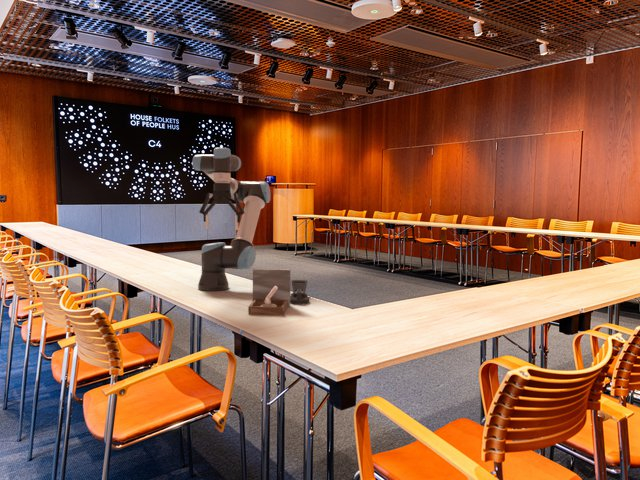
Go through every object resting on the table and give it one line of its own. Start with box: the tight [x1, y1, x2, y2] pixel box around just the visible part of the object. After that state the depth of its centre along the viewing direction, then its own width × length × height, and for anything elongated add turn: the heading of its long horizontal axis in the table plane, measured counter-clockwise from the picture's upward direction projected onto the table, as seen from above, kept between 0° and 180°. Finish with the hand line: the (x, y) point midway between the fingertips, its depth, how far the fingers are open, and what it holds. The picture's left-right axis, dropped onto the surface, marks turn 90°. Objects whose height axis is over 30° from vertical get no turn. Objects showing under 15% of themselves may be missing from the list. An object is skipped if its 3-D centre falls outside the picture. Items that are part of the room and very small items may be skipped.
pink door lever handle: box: [261, 286, 278, 307], centre depth 198 cm, size 8×12×7 cm
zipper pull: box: [290, 279, 310, 305], centre depth 223 cm, size 9×7×25 cm
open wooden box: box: [247, 268, 292, 316], centre depth 199 cm, size 17×16×16 cm
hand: (222, 229), depth 219 cm, fingers open, 13 cm apart
